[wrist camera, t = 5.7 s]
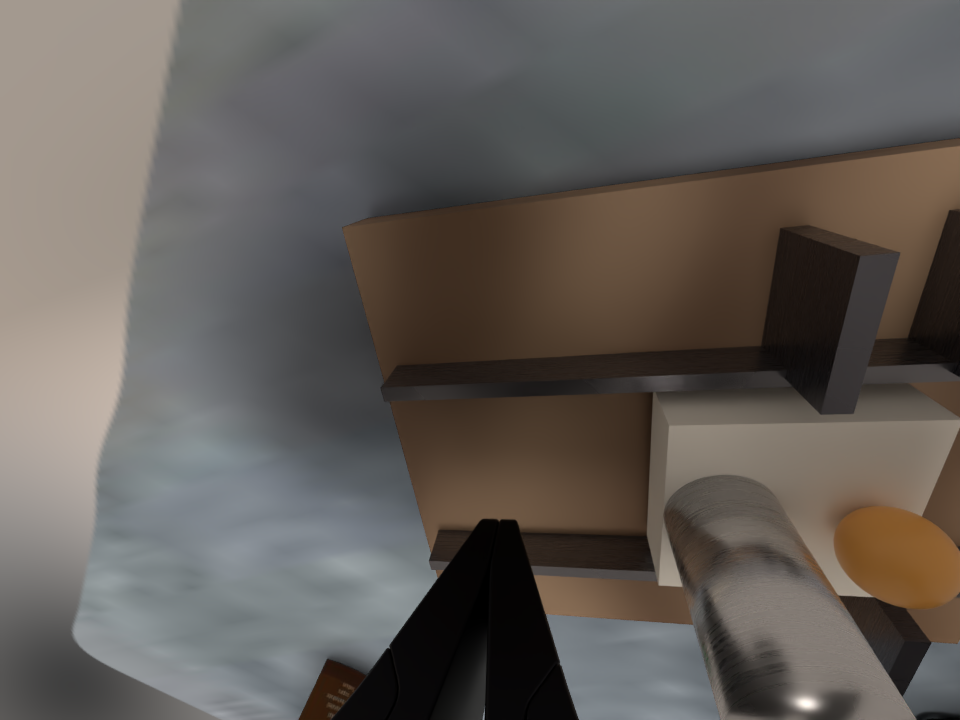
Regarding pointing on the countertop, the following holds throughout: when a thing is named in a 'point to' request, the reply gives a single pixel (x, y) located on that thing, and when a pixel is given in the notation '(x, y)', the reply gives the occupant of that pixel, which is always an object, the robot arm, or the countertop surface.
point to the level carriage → (798, 539)
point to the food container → (331, 691)
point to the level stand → (657, 350)
